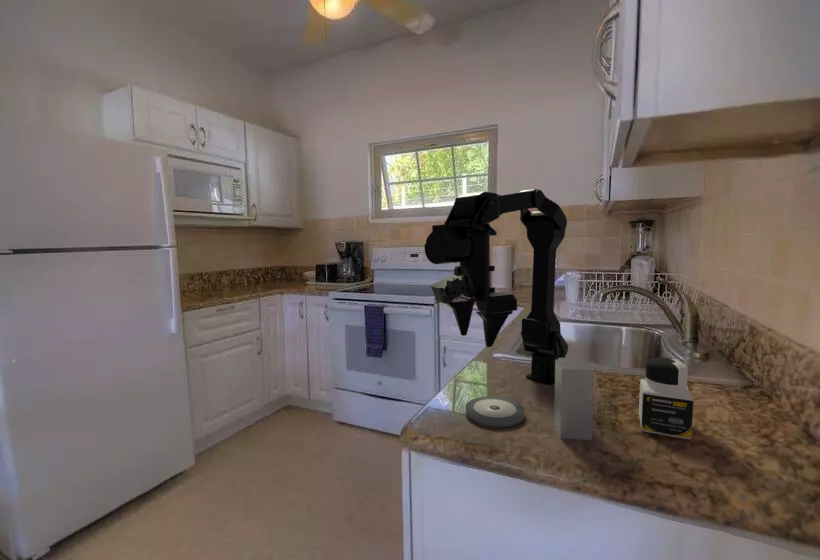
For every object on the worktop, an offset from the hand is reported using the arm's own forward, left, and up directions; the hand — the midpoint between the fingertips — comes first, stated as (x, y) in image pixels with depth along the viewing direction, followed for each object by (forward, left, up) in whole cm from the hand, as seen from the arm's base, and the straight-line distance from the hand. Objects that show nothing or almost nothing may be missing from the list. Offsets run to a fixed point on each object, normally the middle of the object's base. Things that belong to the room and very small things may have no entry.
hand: (475, 340), depth 74 cm
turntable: (-1, +4, -14) cm, 14 cm away
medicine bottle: (-20, +26, -14) cm, 36 cm away
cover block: (-6, +17, -14) cm, 23 cm away
